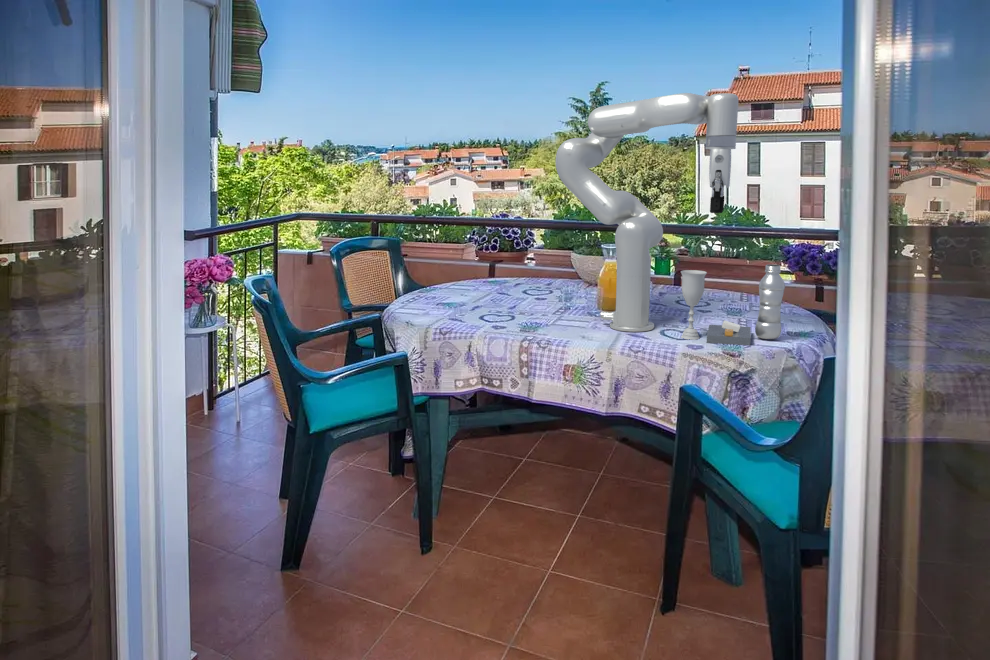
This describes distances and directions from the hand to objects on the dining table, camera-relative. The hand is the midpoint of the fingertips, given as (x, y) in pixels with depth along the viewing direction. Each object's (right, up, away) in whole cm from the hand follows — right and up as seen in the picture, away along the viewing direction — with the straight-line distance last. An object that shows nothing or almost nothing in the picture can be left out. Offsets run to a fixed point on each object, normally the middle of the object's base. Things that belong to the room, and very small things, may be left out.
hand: (716, 211), depth 201 cm
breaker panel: (+5, -33, +6) cm, 34 cm away
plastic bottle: (+15, -34, +5) cm, 37 cm away
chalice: (-5, -34, +7) cm, 35 cm away
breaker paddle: (+5, -32, +5) cm, 32 cm away
